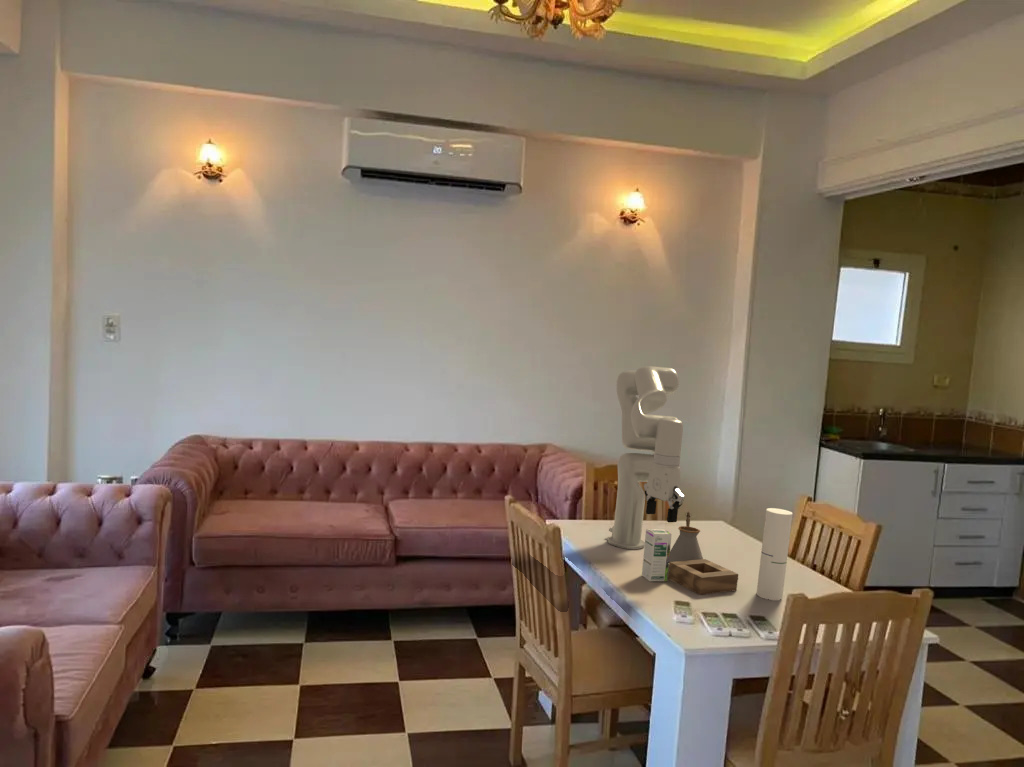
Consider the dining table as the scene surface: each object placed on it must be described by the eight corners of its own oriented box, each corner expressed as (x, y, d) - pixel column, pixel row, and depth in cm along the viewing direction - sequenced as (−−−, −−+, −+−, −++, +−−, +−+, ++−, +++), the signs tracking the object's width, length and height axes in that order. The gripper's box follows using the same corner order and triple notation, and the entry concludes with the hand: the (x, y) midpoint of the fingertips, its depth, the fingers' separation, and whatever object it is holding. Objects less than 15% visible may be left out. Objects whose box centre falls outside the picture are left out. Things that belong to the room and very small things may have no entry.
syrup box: (649, 582, 222) (654, 533, 221) (640, 575, 228) (645, 527, 227) (667, 581, 224) (672, 533, 223) (658, 575, 229) (663, 528, 228)
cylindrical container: (761, 589, 224) (771, 506, 223) (785, 596, 220) (796, 512, 218) (752, 594, 219) (762, 510, 217) (777, 602, 214) (787, 515, 213)
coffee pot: (703, 577, 231) (709, 529, 230) (665, 571, 234) (670, 523, 233) (701, 557, 252) (706, 513, 251) (666, 552, 254) (671, 508, 253)
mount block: (667, 578, 227) (669, 562, 227) (703, 574, 234) (705, 559, 233) (699, 594, 215) (701, 577, 214) (736, 590, 221) (738, 574, 221)
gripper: (638, 455, 229) (632, 511, 230) (676, 466, 214) (670, 525, 215) (658, 455, 232) (652, 510, 233) (696, 466, 217) (690, 524, 218)
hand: (660, 517), depth 224 cm, fingers open, 9 cm apart
